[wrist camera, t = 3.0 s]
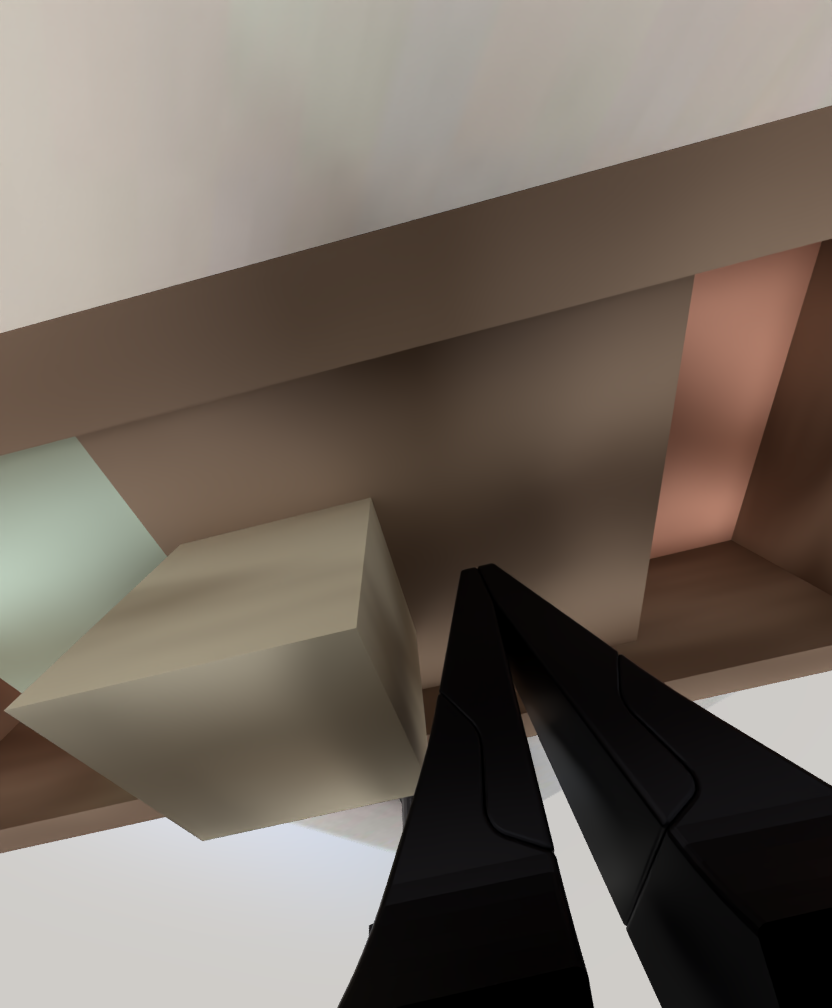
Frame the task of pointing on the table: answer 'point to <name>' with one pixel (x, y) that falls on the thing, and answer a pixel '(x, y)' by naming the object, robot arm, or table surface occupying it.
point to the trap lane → (458, 429)
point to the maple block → (249, 679)
